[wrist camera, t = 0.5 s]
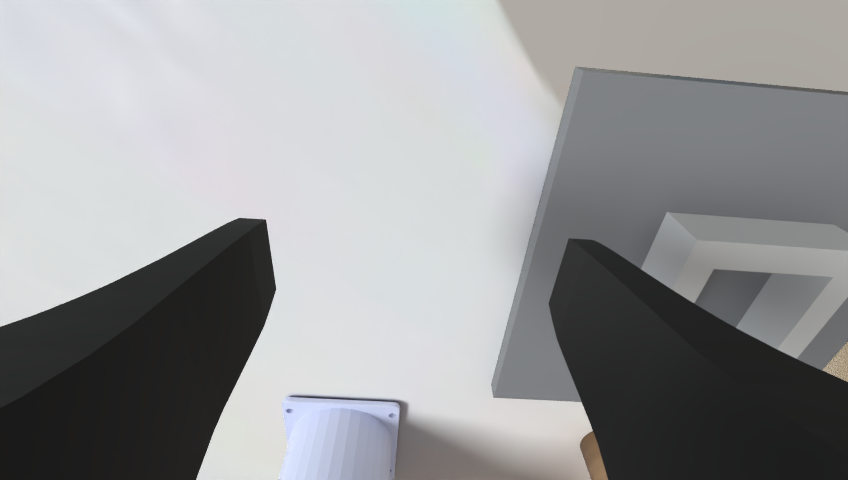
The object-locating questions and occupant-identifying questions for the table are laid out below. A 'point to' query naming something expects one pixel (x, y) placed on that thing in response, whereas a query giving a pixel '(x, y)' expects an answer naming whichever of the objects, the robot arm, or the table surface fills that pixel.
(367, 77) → the table surface
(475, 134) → the table surface
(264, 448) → the table surface
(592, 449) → the walnut peg
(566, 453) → the table surface
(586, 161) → the grey flat piece
